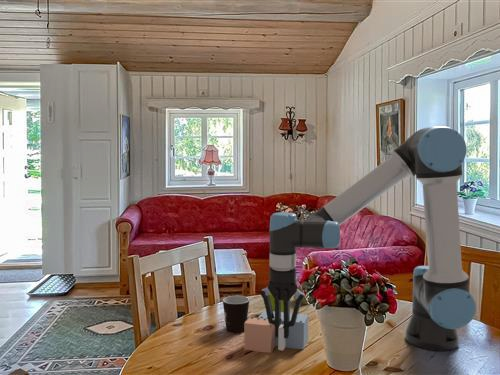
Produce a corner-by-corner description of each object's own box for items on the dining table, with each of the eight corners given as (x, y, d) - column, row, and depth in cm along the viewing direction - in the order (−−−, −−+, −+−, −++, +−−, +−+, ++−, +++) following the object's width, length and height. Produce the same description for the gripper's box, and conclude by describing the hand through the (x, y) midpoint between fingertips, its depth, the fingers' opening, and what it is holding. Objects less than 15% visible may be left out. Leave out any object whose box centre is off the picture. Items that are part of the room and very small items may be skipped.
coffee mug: (246, 335, 153) (246, 304, 152) (219, 333, 155) (219, 303, 154) (253, 322, 164) (253, 293, 163) (228, 320, 166) (228, 292, 165)
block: (275, 346, 145) (275, 319, 144) (270, 353, 140) (270, 325, 139) (249, 342, 147) (249, 316, 147) (244, 349, 143) (244, 322, 142)
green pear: (288, 301, 186) (289, 276, 185) (301, 297, 191) (302, 272, 191) (303, 306, 181) (303, 279, 180) (316, 301, 186) (316, 276, 185)
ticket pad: (308, 340, 149) (308, 314, 149) (303, 349, 143) (303, 322, 142) (264, 335, 153) (264, 309, 153) (257, 343, 147) (257, 317, 146)
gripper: (308, 266, 139) (306, 346, 141) (264, 262, 143) (263, 340, 145) (302, 272, 132) (301, 356, 134) (256, 268, 136) (256, 350, 138)
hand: (281, 348), depth 140 cm, fingers closed
